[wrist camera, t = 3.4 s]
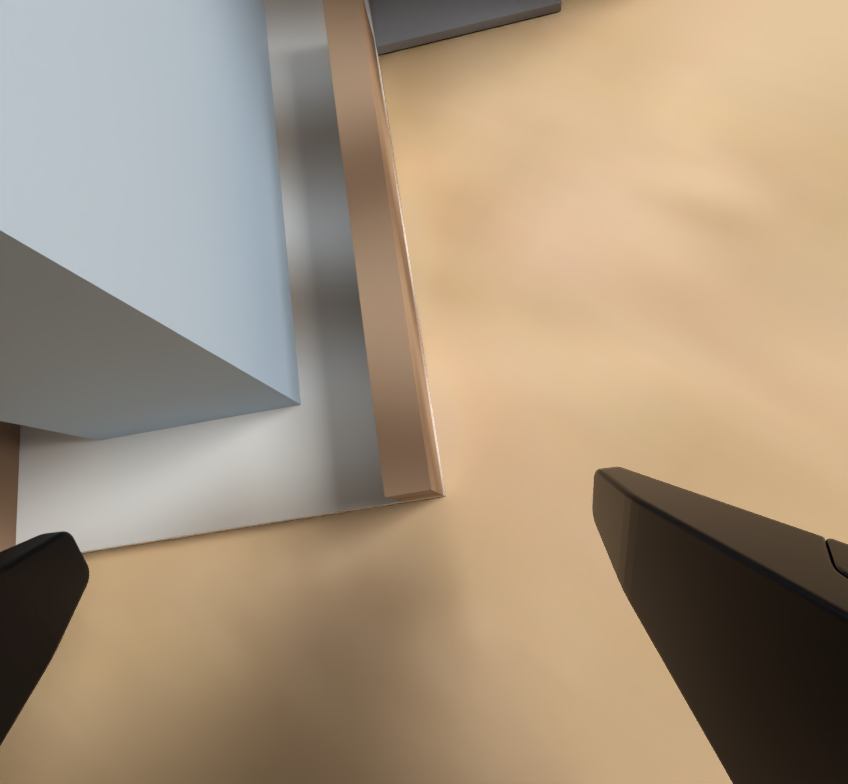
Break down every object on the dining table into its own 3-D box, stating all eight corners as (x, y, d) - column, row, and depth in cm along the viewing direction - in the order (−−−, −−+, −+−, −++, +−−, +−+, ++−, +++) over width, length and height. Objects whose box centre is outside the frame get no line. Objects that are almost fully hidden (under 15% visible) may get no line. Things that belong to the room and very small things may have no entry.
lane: (678, 459, 14) (762, 430, 9) (-180, 594, 16) (-436, 621, 12) (499, -223, 20) (498, -434, 16) (-100, -52, 23) (-247, -192, 18)
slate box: (300, 404, 15) (-70, 190, 5) (98, 440, 15) (-567, 308, 6) (264, 4, 18) (1, -568, 9) (100, 46, 19) (-317, -446, 9)
